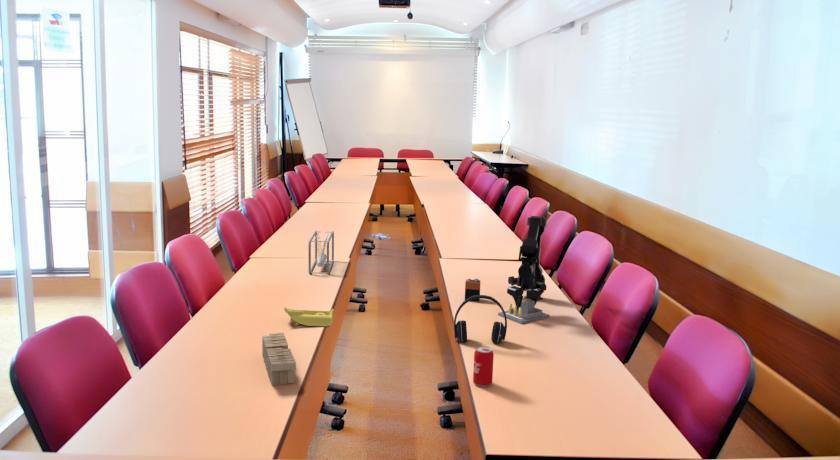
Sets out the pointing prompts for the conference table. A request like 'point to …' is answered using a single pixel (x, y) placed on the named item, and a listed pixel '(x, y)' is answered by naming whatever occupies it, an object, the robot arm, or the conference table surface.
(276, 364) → the block tower
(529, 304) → the plug
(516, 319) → the header socket
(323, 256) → the newton's cradle
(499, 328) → the headphones
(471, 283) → the battery
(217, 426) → the conference table surface
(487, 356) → the beverage can
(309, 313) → the plastic component
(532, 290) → the robot arm
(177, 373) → the conference table surface
